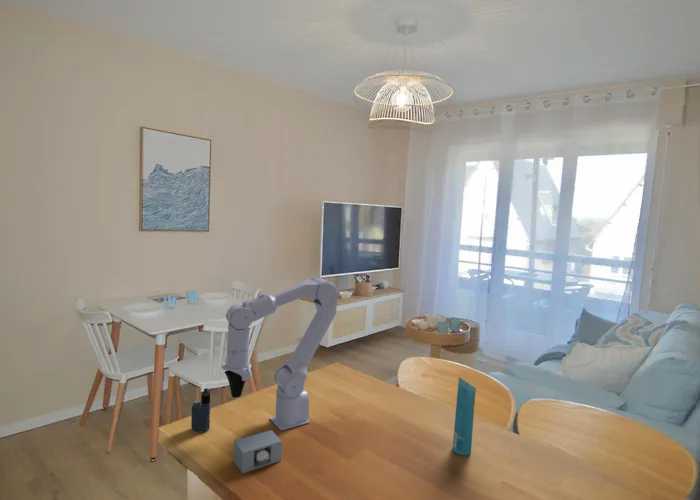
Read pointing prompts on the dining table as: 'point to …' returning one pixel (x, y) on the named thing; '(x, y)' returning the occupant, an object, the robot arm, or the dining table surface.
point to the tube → (464, 418)
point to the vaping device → (201, 413)
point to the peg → (261, 456)
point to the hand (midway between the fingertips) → (236, 396)
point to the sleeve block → (253, 443)
